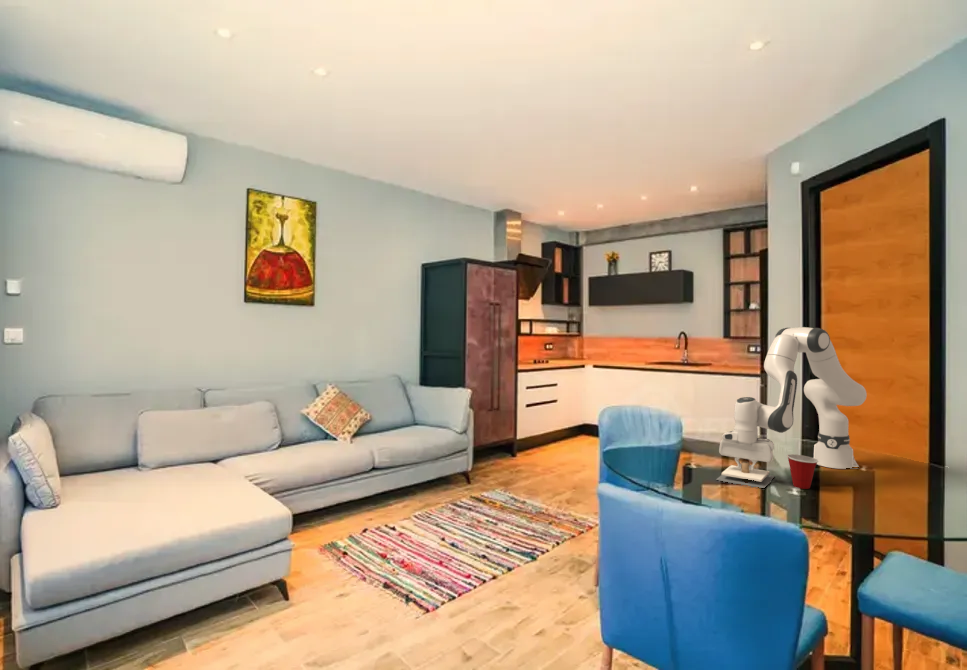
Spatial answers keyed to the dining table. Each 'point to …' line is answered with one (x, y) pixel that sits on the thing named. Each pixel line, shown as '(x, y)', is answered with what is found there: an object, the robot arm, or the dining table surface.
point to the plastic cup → (801, 470)
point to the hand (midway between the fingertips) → (745, 468)
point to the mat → (752, 483)
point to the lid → (745, 472)
